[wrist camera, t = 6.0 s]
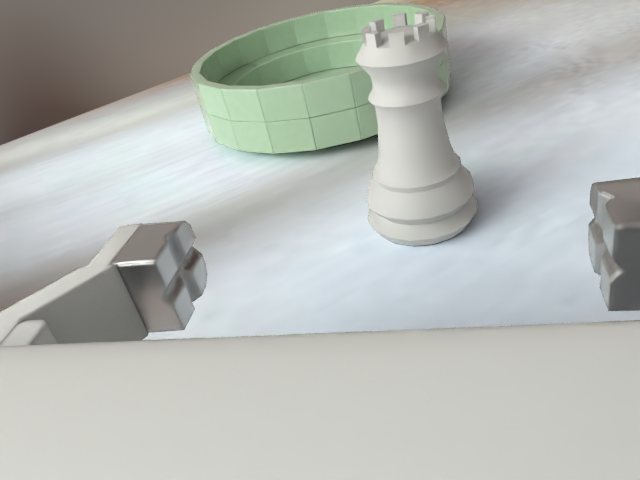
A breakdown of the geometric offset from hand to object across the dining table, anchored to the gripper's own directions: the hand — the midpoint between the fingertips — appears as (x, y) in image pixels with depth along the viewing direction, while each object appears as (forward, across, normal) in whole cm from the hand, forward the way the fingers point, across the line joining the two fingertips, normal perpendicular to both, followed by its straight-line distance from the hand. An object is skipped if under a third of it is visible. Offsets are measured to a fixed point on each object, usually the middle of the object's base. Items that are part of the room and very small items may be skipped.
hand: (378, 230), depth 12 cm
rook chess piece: (+11, 0, +7) cm, 13 cm away
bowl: (+25, +6, +7) cm, 27 cm away
